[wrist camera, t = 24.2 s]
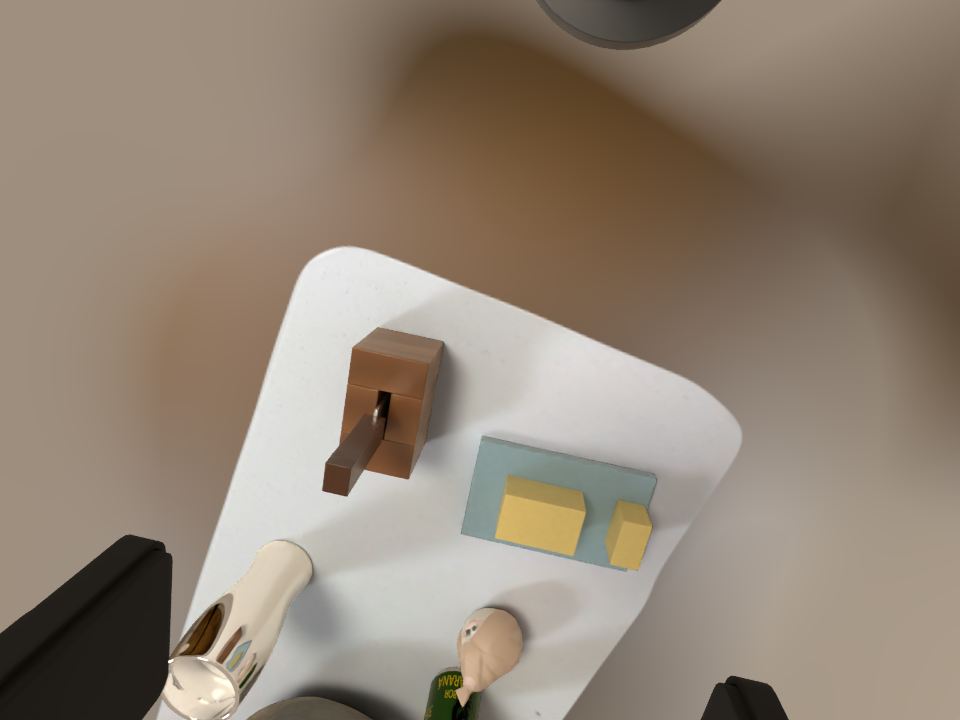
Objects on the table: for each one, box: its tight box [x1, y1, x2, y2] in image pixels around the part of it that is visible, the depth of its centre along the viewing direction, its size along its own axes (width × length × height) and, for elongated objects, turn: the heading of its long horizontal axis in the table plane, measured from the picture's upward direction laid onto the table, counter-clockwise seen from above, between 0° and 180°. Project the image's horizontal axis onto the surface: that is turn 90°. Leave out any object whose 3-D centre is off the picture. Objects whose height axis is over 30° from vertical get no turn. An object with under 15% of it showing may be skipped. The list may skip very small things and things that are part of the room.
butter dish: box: [461, 436, 657, 572], centre depth 50 cm, size 10×16×1 cm, turn 79°
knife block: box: [339, 327, 444, 479], centre depth 46 cm, size 10×6×7 cm, turn 169°
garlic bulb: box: [455, 608, 523, 708], centre depth 51 cm, size 7×6×8 cm
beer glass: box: [161, 541, 313, 720], centre depth 48 cm, size 7×7×15 cm
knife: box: [322, 392, 392, 496], centre depth 41 cm, size 3×2×17 cm, turn 169°
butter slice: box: [605, 500, 653, 571], centre depth 48 cm, size 4×2×4 cm, turn 169°
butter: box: [495, 475, 586, 556], centre depth 48 cm, size 4×7×4 cm, turn 79°
